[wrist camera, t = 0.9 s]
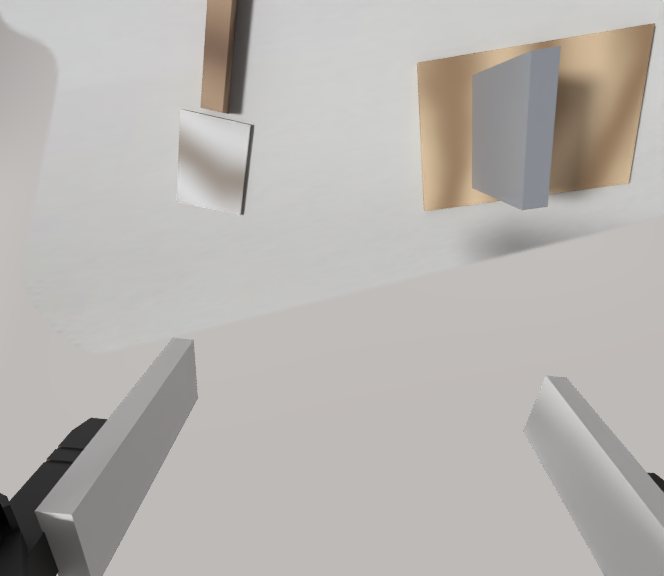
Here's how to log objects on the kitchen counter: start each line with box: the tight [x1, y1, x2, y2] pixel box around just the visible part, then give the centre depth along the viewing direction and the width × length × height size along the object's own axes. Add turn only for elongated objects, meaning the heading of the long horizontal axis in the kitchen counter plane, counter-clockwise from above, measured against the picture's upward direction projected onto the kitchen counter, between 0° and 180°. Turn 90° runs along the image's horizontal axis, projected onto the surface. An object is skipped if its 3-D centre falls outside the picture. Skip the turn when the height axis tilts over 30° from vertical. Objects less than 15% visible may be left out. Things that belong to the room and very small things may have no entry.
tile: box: [472, 46, 561, 210], centre depth 27 cm, size 2×9×10 cm, turn 8°
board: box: [417, 23, 655, 211], centre depth 32 cm, size 18×12×1 cm, turn 98°
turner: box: [177, 0, 251, 215], centre depth 31 cm, size 18×6×2 cm, turn 168°
